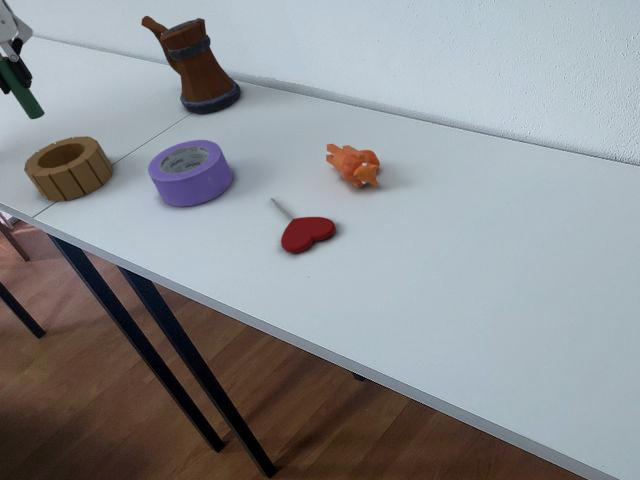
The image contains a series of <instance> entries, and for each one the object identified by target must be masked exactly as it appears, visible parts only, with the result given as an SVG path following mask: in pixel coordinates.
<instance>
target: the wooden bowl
mask: <svg viewBox="0 0 640 480" xmlns="http://www.w3.org/2000/svg"><path fill="white" fill-rule="evenodd" d="M23 171H24V173H25V174H26V176H27V177H28V178H29V180H30V181H31V183H32V184H33V185H34V186H35V188H36V189H37V190H38V192H39V193H40V195H41V196H42V197H43V198H45V199H46V200H47V201H51V202H67V201H72V200H75V199H77V198H78V199H79V198H81V197H84V196H85V195H89V194H91V193H93V192H94V191H96V190H98V189H100V188H102V186H104V185H105V184H106V183H107V182H108V181H109V180H110V178H111V177H112V176H113V175H114V166H113V165H112V162H111V161H110V159H109V157H108V156H107V154H106V152H105V151H104V149H103V148H102V146H101V144H100V143H99V142H98V140H97V139H95V138H93V137H91V136H73V137H71V136H70V137H68V138H65V139H60V140H58V141H57V140H56V141H55V143H54V142H52V143H49V144H48V145H46V146H43V147H42V148H40V149H38V151H36V152H34V153H33V154H32V155H31V156H30V157H28V159H27V160H26V161H25V163H24V168H23Z"/></svg>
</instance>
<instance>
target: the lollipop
mask: <svg viewBox="0 0 640 480" xmlns="http://www.w3.org/2000/svg"><path fill="white" fill-rule="evenodd" d="M270 200H271V202H273V204H275V205H276V207H278V208H279V209H280V210H281V211H282V212H283V213H284V214H285V215H286V216H287V217H288V218H289V219H290V222H289V223H288V225H287V226H286V227H285V229H284V231H283V233H282V235H281V239H280V244H281V247H282V249H283V250H285V251H286V252H287V253H292V254H295V253H296V254H297V253H302V252H304V251H305V250H307V249H309V248H310V247H311V246H312V245H313V242H319V241H320V242H321V241H324V240H327V239H328V238H330V237H331V236H332V235H334V233H335V231H336V224H335V223H334V221H333V220H331V219H330V218H327V217H322V216H304V217H296V218H294V217H293V216H292V215H291V214H289V212H287V211H286V210H285V208H284V207H282V206H281V205H280V203H278V201H276V200H275V198H273V197H271V198H270Z"/></svg>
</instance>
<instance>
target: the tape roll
mask: <svg viewBox="0 0 640 480" xmlns="http://www.w3.org/2000/svg"><path fill="white" fill-rule="evenodd" d="M147 174H148V175H149V178H150V179H151V181H152V183H153V184H154V186H155V188H156V191H157V192H158V193H159V195H160V197H161V199H162V200H163V201H164V203H165V204H167V205H170V206H173V207H178V208H179V207H181V208H182V207H183V208H184V207H193V206H198V205H201V204H205V203H207V202H209V201H211V200H214V199H216V198H217V197H219V196H220V195H221V194H224V192H226V190H227V189H228V188H229V187H230V186H231V184H232V182H233V172H232V170H231V168H230V166H229V164H228V161H227V159H226V157H225V154H224V153H223V151H222V148H221V146H220V145H219V144H218V143H217V142H215V141H212V140H208V139H194V140H187V141H184V142H179V143H176V144H174V145H172V146H170V147H168V148H165V149H164V150H162V151H160V152H159V153H158V154H157V155H155V156H154V157H153V158H152V159H151V160H150V162H149V163H148V166H147Z"/></svg>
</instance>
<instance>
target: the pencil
mask: <svg viewBox="0 0 640 480" xmlns="http://www.w3.org/2000/svg"><path fill="white" fill-rule="evenodd" d="M9 64H10V61H9V59H8V56H7V55H6V56H3V54H2V52H0V75H1V77H2V78H3V80H4V81H5V83H6V84H7V86H8V87H9V89H10V90H11V91H10V93H12V95H13V96H14V98H15V99H16V101H17V102H18V104H19V105H20V106H21V108H22V109H23V111H24V112H25V114H26V116H27V117H28V118H29V119H30V120H37V119H40V118H42V117H43V116H45V110H44V109H43V107H42V106H41V105H40V103H39V101H38V100H37V98H36V97H35V95H34V94H33V92H32V91H31V88H28V89H26V88H24V87H23V85H22V84H21V82H20V81H19V79H18V78H17V76H16V75H15V73H14V72H13V70H12V69H11V67H10V65H9Z"/></svg>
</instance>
